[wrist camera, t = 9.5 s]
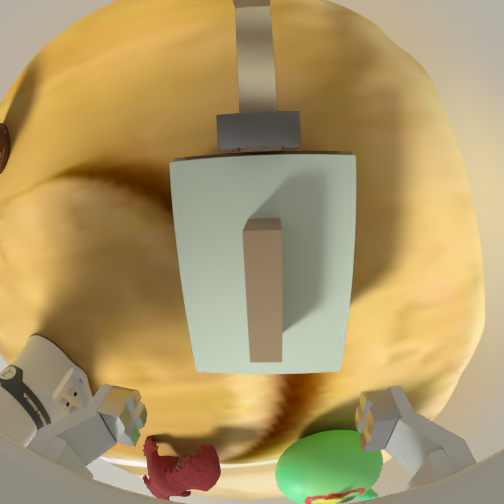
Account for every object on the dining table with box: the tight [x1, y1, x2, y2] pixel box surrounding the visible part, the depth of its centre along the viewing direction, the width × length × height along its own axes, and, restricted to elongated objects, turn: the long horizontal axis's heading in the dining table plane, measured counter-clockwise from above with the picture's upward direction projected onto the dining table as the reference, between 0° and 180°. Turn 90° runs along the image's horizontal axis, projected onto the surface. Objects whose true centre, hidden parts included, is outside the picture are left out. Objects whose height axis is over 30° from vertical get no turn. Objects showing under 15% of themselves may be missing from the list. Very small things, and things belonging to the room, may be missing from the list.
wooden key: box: [233, 0, 277, 113], centre depth 15 cm, size 13×2×4 cm, turn 3°
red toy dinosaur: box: [143, 437, 221, 500], centre depth 43 cm, size 28×9×15 cm
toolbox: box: [174, 111, 352, 162], centre depth 26 cm, size 22×14×13 cm, turn 3°
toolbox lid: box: [169, 154, 356, 374], centre depth 22 cm, size 19×14×6 cm
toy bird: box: [276, 430, 383, 504], centre depth 36 cm, size 18×17×15 cm
